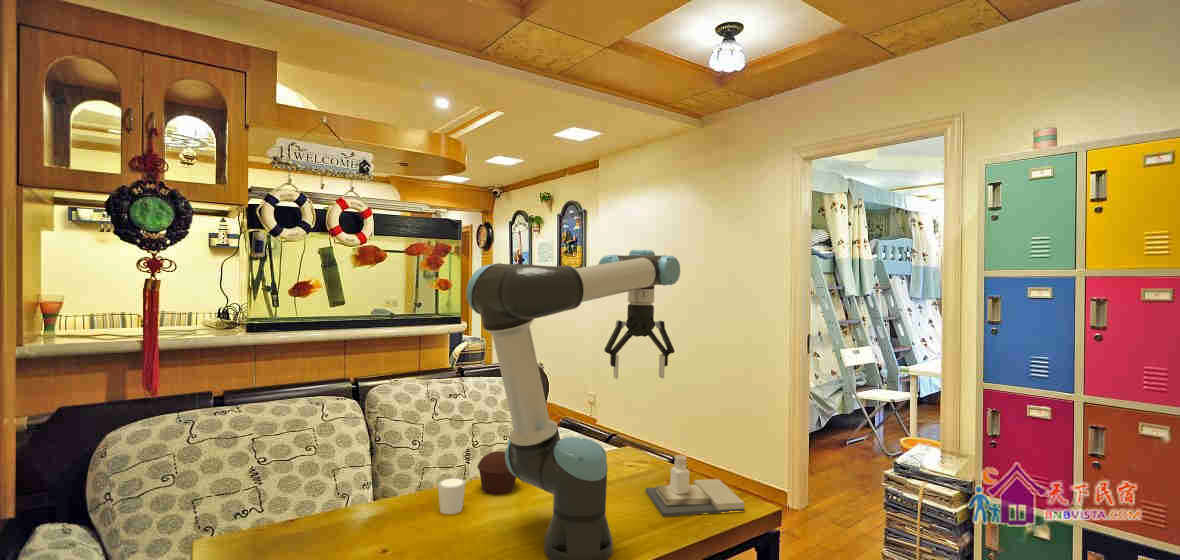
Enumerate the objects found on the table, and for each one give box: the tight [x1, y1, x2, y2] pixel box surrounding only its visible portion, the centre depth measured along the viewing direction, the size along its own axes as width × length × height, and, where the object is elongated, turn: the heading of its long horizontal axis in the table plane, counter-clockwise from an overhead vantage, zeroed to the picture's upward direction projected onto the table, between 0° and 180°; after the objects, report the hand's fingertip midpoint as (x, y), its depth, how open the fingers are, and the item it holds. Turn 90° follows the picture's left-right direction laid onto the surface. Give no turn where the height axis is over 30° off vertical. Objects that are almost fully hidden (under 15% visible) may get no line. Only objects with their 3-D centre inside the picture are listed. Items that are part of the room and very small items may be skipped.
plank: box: [655, 484, 710, 505], centre depth 146 cm, size 12×9×2 cm
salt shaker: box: [669, 454, 690, 494], centre depth 146 cm, size 4×4×10 cm
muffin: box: [477, 451, 517, 496], centre depth 152 cm, size 12×11×10 cm
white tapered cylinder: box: [437, 477, 466, 515], centre depth 138 cm, size 7×7×7 cm
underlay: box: [644, 478, 745, 518], centre depth 147 cm, size 22×16×3 cm
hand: (638, 377), depth 155 cm, fingers open, 13 cm apart
